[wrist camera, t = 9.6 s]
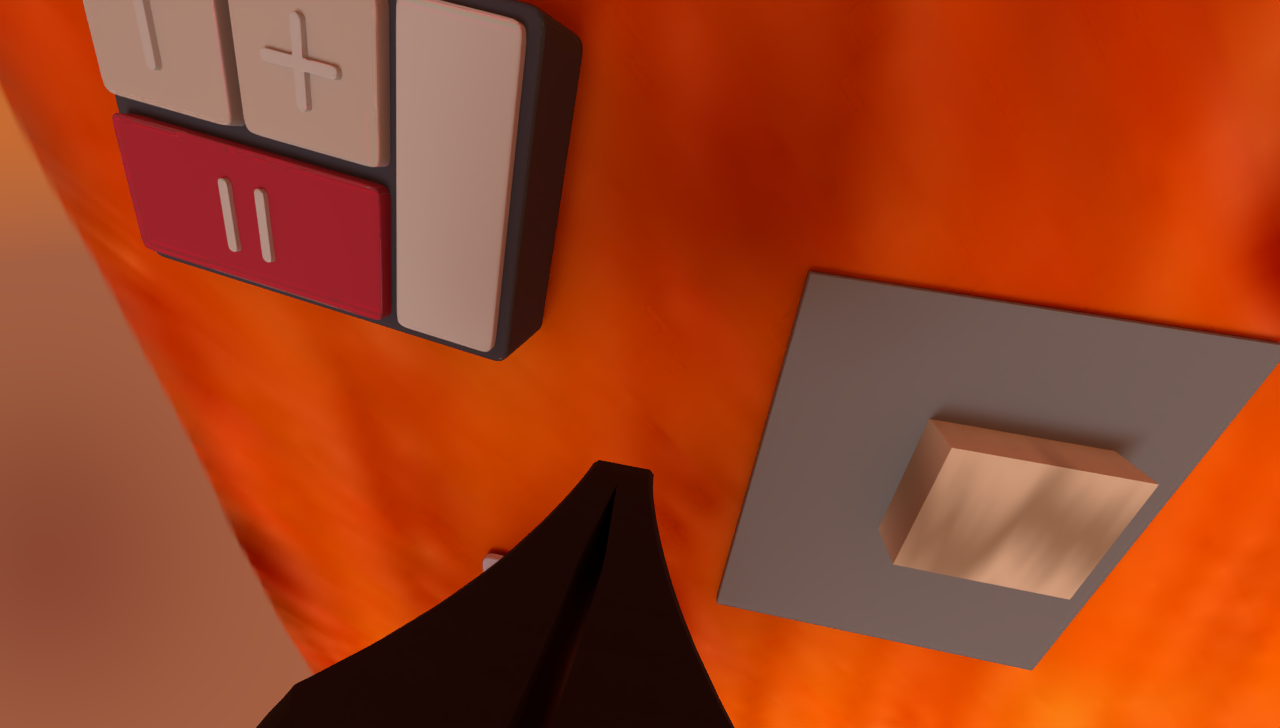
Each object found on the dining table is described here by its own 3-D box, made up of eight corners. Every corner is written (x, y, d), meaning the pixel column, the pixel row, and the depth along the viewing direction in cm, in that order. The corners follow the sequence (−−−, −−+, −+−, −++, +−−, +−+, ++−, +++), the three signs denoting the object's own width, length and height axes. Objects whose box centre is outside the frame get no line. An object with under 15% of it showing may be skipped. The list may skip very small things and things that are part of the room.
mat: (1027, 662, 24) (1031, 670, 24) (716, 596, 25) (716, 603, 25) (1278, 342, 16) (1291, 346, 16) (808, 271, 17) (810, 273, 17)
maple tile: (878, 529, 21) (1039, 560, 21) (893, 564, 20) (1069, 599, 19) (929, 418, 19) (1115, 451, 18) (952, 447, 17) (1158, 484, 16)
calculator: (24, -128, 13) (535, -2, 12) (190, -63, 17) (587, 36, 15) (128, 258, 18) (495, 375, 17) (238, 240, 22) (542, 332, 20)
